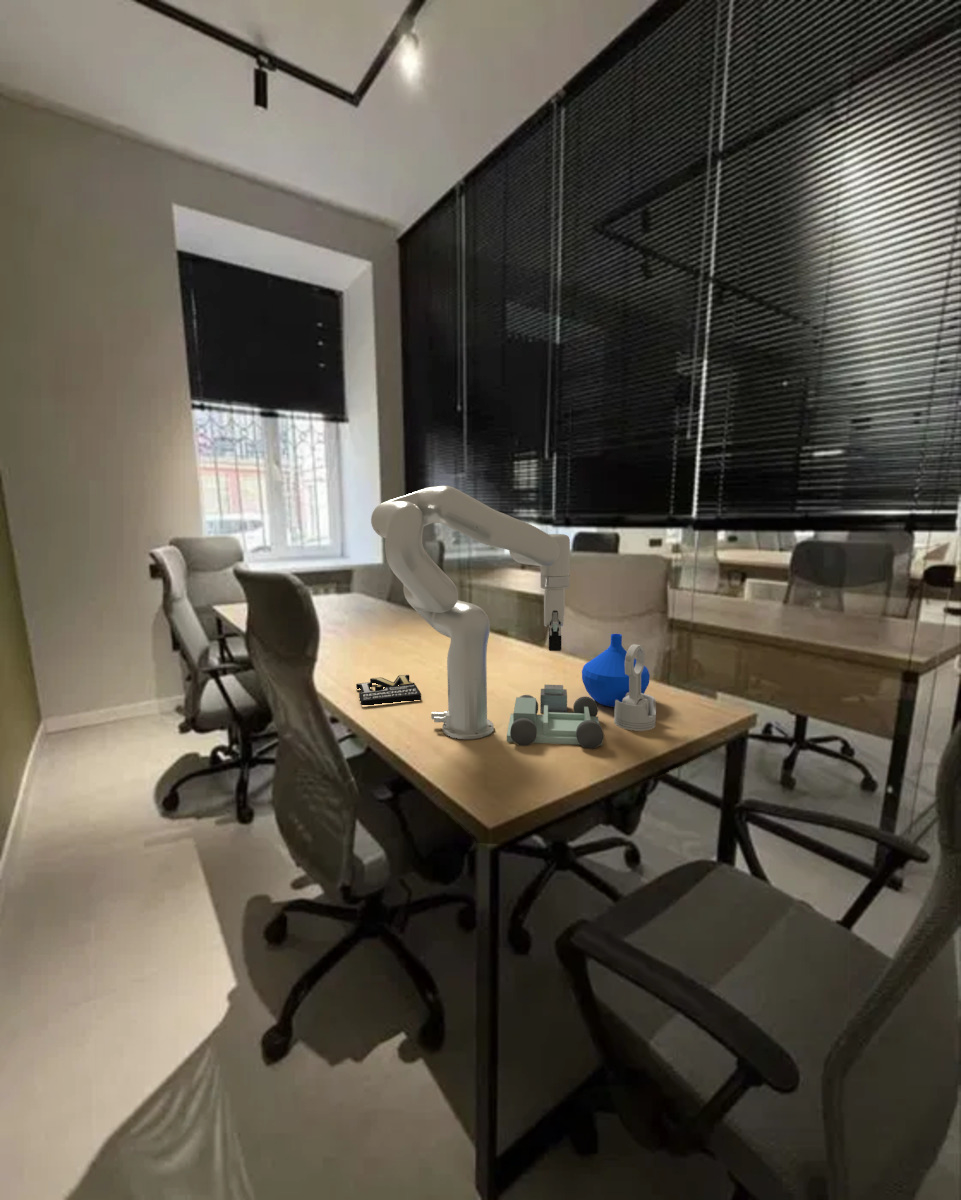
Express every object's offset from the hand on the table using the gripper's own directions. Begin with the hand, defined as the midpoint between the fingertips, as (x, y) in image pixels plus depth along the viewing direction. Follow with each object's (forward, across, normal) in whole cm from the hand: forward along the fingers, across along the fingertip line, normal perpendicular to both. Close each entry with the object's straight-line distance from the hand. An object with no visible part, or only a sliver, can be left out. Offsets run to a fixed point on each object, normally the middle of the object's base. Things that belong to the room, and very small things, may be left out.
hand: (554, 645), depth 146 cm
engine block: (+18, 0, 0) cm, 18 cm away
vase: (+18, -8, +17) cm, 26 cm away
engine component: (+18, +8, +20) cm, 28 cm away
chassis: (+18, +15, 0) cm, 23 cm away
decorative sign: (+18, -9, -49) cm, 53 cm away
